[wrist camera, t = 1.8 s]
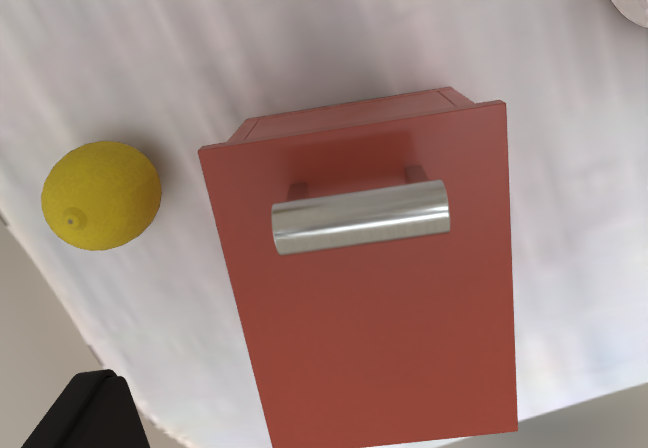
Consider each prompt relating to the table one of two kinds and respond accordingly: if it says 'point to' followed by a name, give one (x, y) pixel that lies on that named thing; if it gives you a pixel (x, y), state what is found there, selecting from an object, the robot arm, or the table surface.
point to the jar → (634, 10)
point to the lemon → (101, 195)
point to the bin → (350, 113)
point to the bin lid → (374, 276)
